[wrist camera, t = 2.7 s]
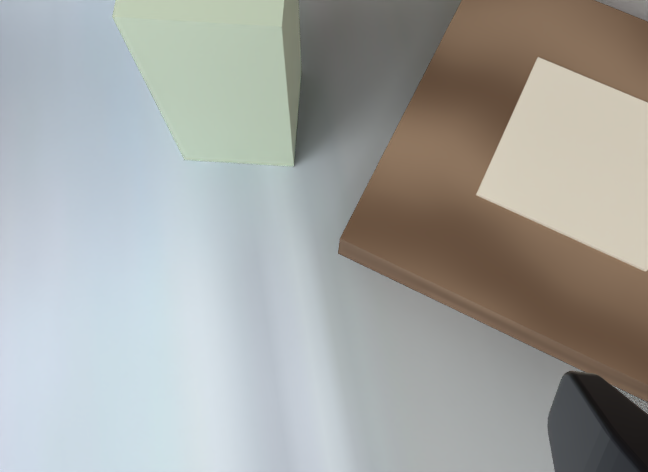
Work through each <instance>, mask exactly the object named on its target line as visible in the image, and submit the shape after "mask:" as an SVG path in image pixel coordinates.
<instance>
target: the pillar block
mask: <svg viewBox="0 0 648 472" xmlns="http://www.w3.org/2000/svg"><path fill="white" fill-rule="evenodd" d="M112 17H113V19H114V21H115V23H116V25H117V27H118V29H119V31H120V33H121V35H122V37H123V39H124V41H125V43H126V45H127V47H128V49H129V51H130V53H131V55H132V57H133V59H134V61H135V63H136V65H137V67H138V69H139V71H140V73H141V75H142V77H143V79H144V81H145V83H146V85H147V86H148V88H149V90H150V92H151V94H152V96H153V98H154V100H155V102H156V104H157V106H158V108H159V110H160V112H161V114H162V116H163V118H164V120H165V122H166V124H167V126H168V128H169V130H170V132H171V134H172V136H173V138H174V140H175V142H176V144H177V146H178V148H179V150H180V152H181V154H182V156H183V158H184V160H192V161H209V162H226V163H242V164H259V165H276V166H292V167H294V158H295V146H296V134H297V122H298V109H299V97H300V85H301V72H302V70H301V45H300V21H299V0H116V1H115V6H114V11H113V16H112Z"/></svg>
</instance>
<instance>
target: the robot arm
mask: <svg viewBox="0 0 648 472" xmlns="http://www.w3.org/2000/svg"><path fill="white" fill-rule="evenodd" d="M548 435H549V441H550V446H551V452H552V458H553V464H554V470H555V472H648V414H647V413H645V412H644V411H643V410H642V409H640V408H639V407H638V406H637V405H635V404H634V403H633V402H632V401H630V400H629V399H628V398H627V397H626V396H624V395H623V394H622V393H621V392H619V391H618V390H617V389H616V388H614V387H613V386H612V385H611V384H609V383H608V382H607V381H606V380H604V379H603V378H602V377H600V376H599V375H597V374H594V373H585V372H576V371H569V372H567V373H565V374H564V376H563V377H562V379H561V381H560V384H559V387H558V390H557V393H556V395H555V398H554V401H553V404H552V407H551V409H550V412H549V416H548Z"/></svg>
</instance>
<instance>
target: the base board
mask: <svg viewBox="0 0 648 472" xmlns="http://www.w3.org/2000/svg"><path fill="white" fill-rule="evenodd" d="M338 254H340V255H343V256H345V257H347V258H349V259H351V260H353V261H355V262H357V263H359V264H361V265H363V266H365V267H368V268H370V269H372V270H374V271H376V272H378V273H380V274H382V275H384V276H386V277H388V278H390V279H393V280H395V281H397V282H399V283H401V284H403V285H405V286H407V287H409V288H411V289H413V290H415V291H418V292H420V293H422V294H424V295H426V296H428V297H430V298H432V299H434V300H436V301H438V302H440V303H443V304H445V305H447V306H449V307H451V308H453V309H455V310H457V311H459V312H461V313H463V314H465V315H468V316H470V317H472V318H474V319H476V320H478V321H480V322H482V323H484V324H486V325H488V326H490V327H493V328H495V329H497V330H499V331H501V332H503V333H505V334H507V335H509V336H511V337H513V338H515V339H518V340H520V341H522V342H524V343H526V344H528V345H530V346H532V347H534V348H536V349H538V350H540V351H543V352H545V353H547V354H549V355H551V356H553V357H555V358H557V359H559V360H561V361H563V362H565V363H568V364H570V365H572V366H574V367H576V368H578V369H580V370H582V371H584V372H586V373H594V374H597V375H599V376H600V377H602V378H603V379H604V380H606V381H607V382H608V383H609V384H611V385H613V386H615V387H617V388H620V389H622V390H624V391H626V392H628V393H630V394H632V395H634V396H636V397H638V398H640V399H642V400H645V401H647V402H648V22H647V21H645V20H642V19H640V18H637V17H635V16H632V15H630V14H627V13H625V12H622V11H620V10H617V9H615V8H612V7H610V6H607V5H605V4H602V3H600V2H597V1H595V0H462V1H461V3H460V5H459V7H458V9H457V11H456V13H455V15H454V16H453V18H452V20H451V22H450V24H449V26H448V28H447V30H446V32H445V34H444V36H443V38H442V40H441V42H440V44H439V46H438V48H437V50H436V52H435V54H434V56H433V58H432V60H431V61H430V63H429V65H428V67H427V69H426V71H425V73H424V75H423V77H422V79H421V81H420V83H419V85H418V87H417V89H416V91H415V93H414V95H413V97H412V99H411V101H410V103H409V105H408V106H407V108H406V110H405V112H404V114H403V116H402V118H401V120H400V122H399V124H398V126H397V128H396V130H395V132H394V134H393V136H392V138H391V140H390V142H389V144H388V146H387V148H386V149H385V151H384V153H383V155H382V157H381V159H380V161H379V163H378V165H377V167H376V169H375V171H374V173H373V175H372V177H371V179H370V181H369V183H368V185H367V187H366V189H365V191H364V193H363V194H362V196H361V198H360V200H359V202H358V204H357V206H356V208H355V210H354V212H353V214H352V216H351V218H350V220H349V222H348V224H347V226H346V228H345V230H344V232H343V234H342V236H341V238H340V243H339V250H338Z"/></svg>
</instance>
